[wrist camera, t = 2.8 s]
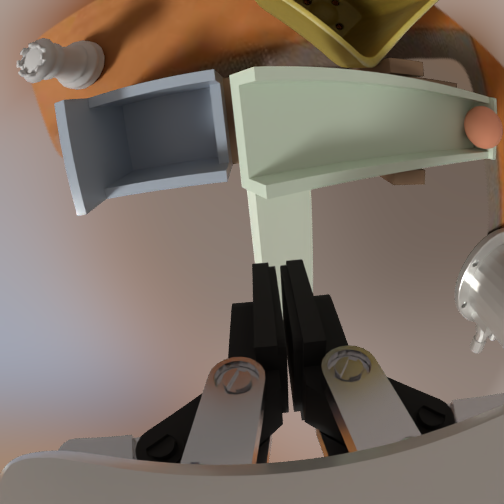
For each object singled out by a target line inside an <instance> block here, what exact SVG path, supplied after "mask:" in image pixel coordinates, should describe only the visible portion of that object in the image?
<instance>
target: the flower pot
mask: <svg viewBox="0 0 504 504" xmlns="http://www.w3.org/2000/svg"><path fill="white" fill-rule="evenodd" d="M255 1H256V2H257V4H258V5H259V6H260V7H262V8H263V9H264V10H265V11H267V12H268V13H270V14H271V15H273V16H274V17H276V18H277V19H279V20H280V21H282V22H283V23H285V24H286V25H287V26H289V27H290V28H292V29H293V30H294V31H296V32H297V33H298V34H300V35H301V36H302V37H304V38H305V39H306V40H308V41H309V42H310V43H311V44H313V45H314V46H315V47H316V48H318V49H319V50H320V51H321V52H322V53H324V54H325V55H326V56H327V57H328V58H329V59H330V60H331V61H333V62H334V63H335V64H337V65H339V66H341V67H344V68H373V67H375V66H376V65H377V64H378V63H379V62H380V61H381V60H382V59H383V58H384V57H385V56H386V54H387V53H388V52H389V51H390V50H391V48H392V47H393V46H394V45H395V44H396V43H397V42H398V41H399V40H400V38H401V37H402V36H403V35H404V34H405V33H406V32H407V31H408V30H409V28H410V27H411V26H412V25H414V23H415V22H416V21H417V20H418V19H420V18H421V17H422V16H423V15H424V14H425V13H426V12H427V11H428V10H429V9H430V8H431V7H432V6H433V5H434V4H435V3H436V2H438V1H439V0H336V1H337V2H338V3H339V4H338V5H337V6H335V5H333V4H332V1H333V0H310V2H311V4H310V5H306V4H304V0H255ZM336 24H341V25H342V29H341V30H339V29H337V28H336Z"/></svg>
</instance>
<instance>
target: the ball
mask: <svg viewBox="0 0 504 504" xmlns="http://www.w3.org/2000/svg"><path fill="white" fill-rule="evenodd" d="M464 129H465V133H466V135H467V137H468V139H469V140H470V141H471V142H472V143H473V144H474V145H476V146H477V147H479V148H483V149H490V148H493V147H495V146H496V145H497V144H498V143H499V142H500V140H501V138H502V134H503V128H502V123H501V121H500V119H499V117H498V115H497V114H496V113H495V112H494V111H493V110H491V109H490V108H487V107H484V106H476V107H474V108H472V109H470V110H469V111H468V113H467V114H466V116H465V119H464Z"/></svg>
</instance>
